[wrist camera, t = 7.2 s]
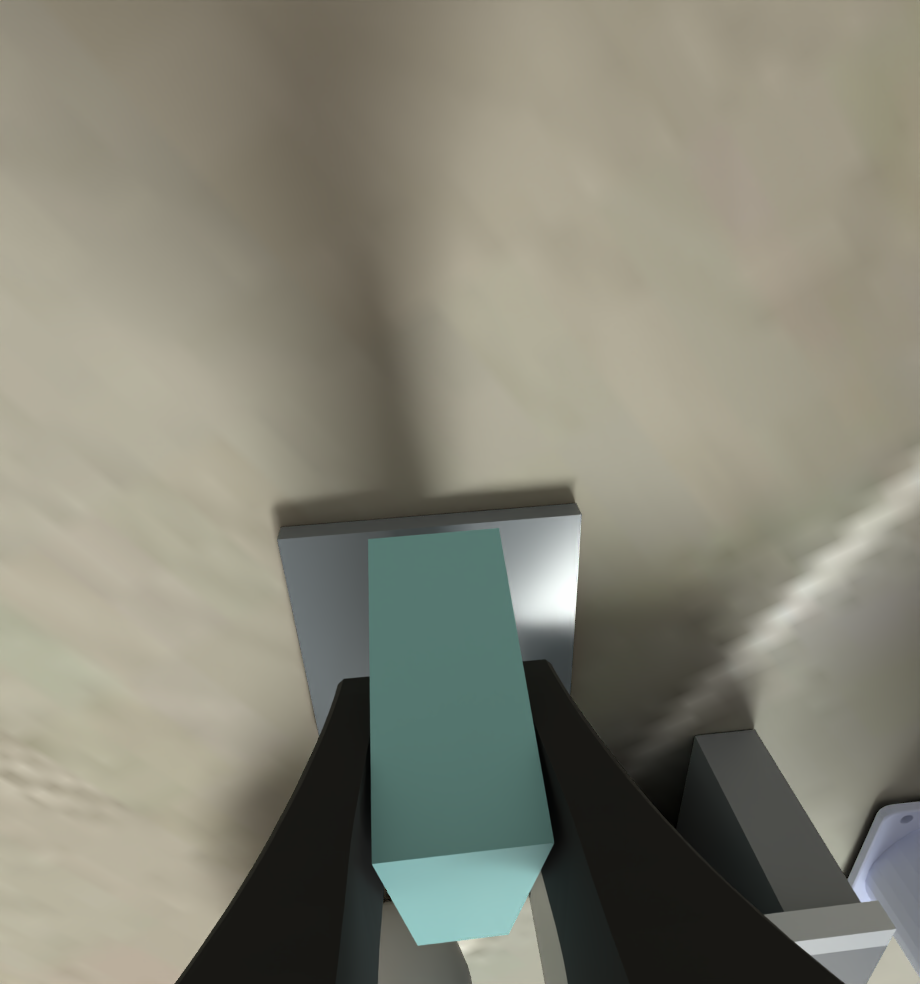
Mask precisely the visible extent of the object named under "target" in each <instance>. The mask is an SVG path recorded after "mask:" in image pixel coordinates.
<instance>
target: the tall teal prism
mask: <svg viewBox="0 0 920 984" xmlns="http://www.w3.org/2000/svg"><path fill="white" fill-rule="evenodd" d="M368 577H369V664H370V752H371V839H372V865H373V867H374V869H375V871H376V872H377V874H378V876H379V878H380V880H381V881H382V883H383V885H384V887H385V888H386V890H387V892H388V894H389V896H390V897H391V899H392V901H393V903H394V904H395V906H396V908H397V910H398V912H399V913H400V915H401V917H402V919H403V920H404V922H405V924H406V926H407V927H408V929H409V931H410V933H411V935H412V936H413V938H414V940H415V942H416V943H417V945H418V946H420V945H428V944H436V943H444V942H452V941H460V940H468V939H476V938H484V937H492V936H500V935H508V934H509V932H510V930H511V928H512V926H513V924H514V922H515V920H516V918H517V916H518V914H519V912H520V910H521V908H522V906H523V905H524V903H525V901H526V899H527V897H528V895H529V893H530V891H531V889H532V887H533V885H534V883H535V881H536V879H537V877H538V875H539V873H540V871H541V869H542V867H543V865H544V863H545V861H546V859H547V857H548V855H549V853H550V851H551V849H552V847H553V845H554V838H553V832H552V826H551V821H550V815H549V809H548V804H547V798H546V792H545V787H544V781H543V775H542V770H541V764H540V758H539V753H538V747H537V741H536V736H535V730H534V724H533V719H532V713H531V707H530V702H529V696H528V690H527V685H526V679H525V673H524V668H523V662H522V656H521V651H520V645H519V639H518V634H517V628H516V622H515V616H514V611H513V605H512V599H511V594H510V588H509V582H508V577H507V571H506V565H505V560H504V554H503V548H502V543H501V537H500V531H499V528H494V529H482V530H470V531H458V532H446V533H435V534H423V535H411V536H399V537H387V538H375V539H368Z"/></svg>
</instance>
